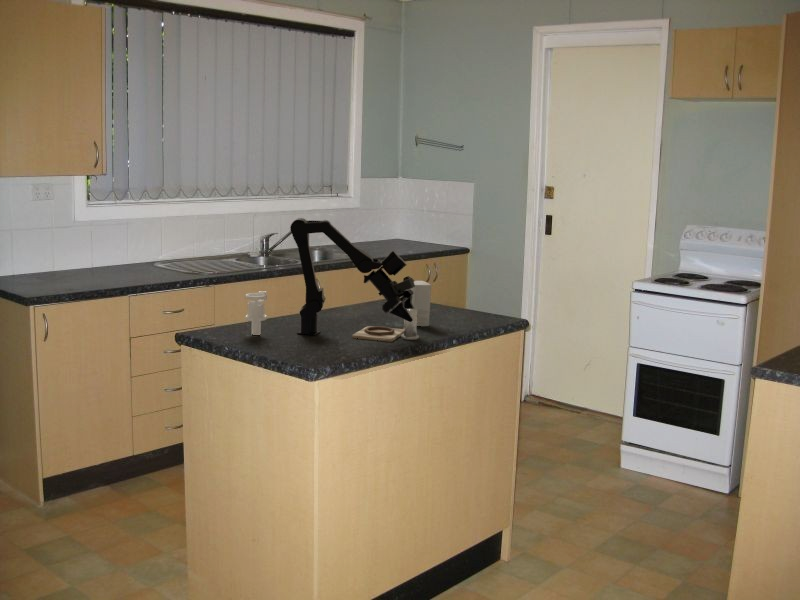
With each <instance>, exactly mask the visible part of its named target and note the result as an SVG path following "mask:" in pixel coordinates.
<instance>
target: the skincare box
mask: <svg viewBox="0 0 800 600" xmlns="http://www.w3.org/2000/svg"><path fill="white" fill-rule="evenodd" d="M414 284H415V287H413V288H411V290H412V291H413V293H414V294H413V295H412V296H413V297H412V305H413V307H414V308H415V309H417V316H418V317H417V326H421V327H429V326H430V312H431V296H432V284H430V283H428V282H427V281H424V280H414Z"/></svg>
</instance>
